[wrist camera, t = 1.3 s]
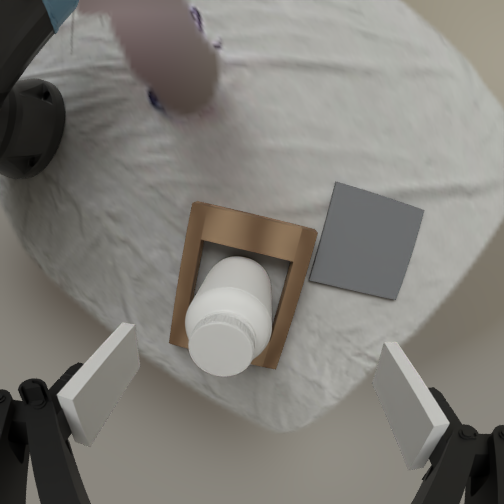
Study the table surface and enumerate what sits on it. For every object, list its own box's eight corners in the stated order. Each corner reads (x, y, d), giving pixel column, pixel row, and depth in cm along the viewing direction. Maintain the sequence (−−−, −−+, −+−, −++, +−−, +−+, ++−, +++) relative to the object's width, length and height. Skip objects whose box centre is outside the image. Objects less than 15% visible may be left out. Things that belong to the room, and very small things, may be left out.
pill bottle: (211, 318, 39) (183, 389, 25) (202, 257, 37) (162, 306, 23) (274, 313, 39) (275, 387, 24) (268, 251, 37) (267, 300, 22)
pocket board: (174, 334, 40) (169, 343, 38) (197, 201, 36) (192, 202, 33) (275, 359, 40) (275, 369, 38) (314, 229, 36) (317, 232, 33)
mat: (308, 279, 37) (309, 280, 37) (335, 181, 34) (336, 181, 34) (394, 298, 37) (395, 300, 37) (422, 209, 34) (424, 210, 34)
